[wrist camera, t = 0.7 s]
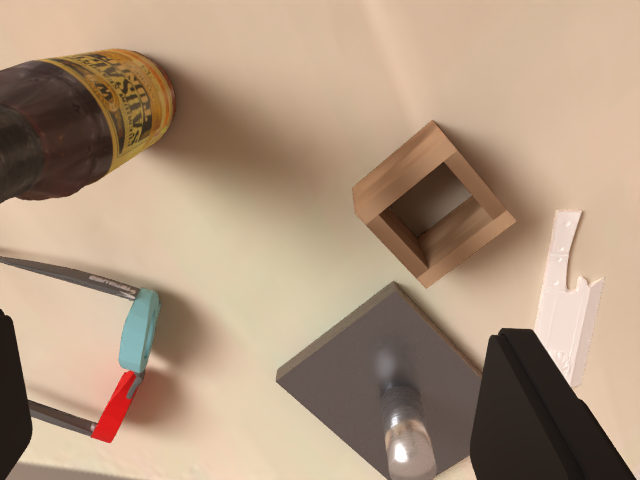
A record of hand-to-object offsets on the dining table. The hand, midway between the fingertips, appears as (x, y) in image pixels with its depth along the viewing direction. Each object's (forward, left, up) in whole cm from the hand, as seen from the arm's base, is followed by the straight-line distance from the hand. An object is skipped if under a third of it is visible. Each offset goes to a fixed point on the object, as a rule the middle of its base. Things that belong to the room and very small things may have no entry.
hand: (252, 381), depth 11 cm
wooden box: (-2, +9, -28) cm, 30 cm away
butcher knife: (-5, +24, -29) cm, 38 cm away
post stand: (+10, +21, -28) cm, 37 cm away
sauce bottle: (+8, -9, -28) cm, 31 cm away
